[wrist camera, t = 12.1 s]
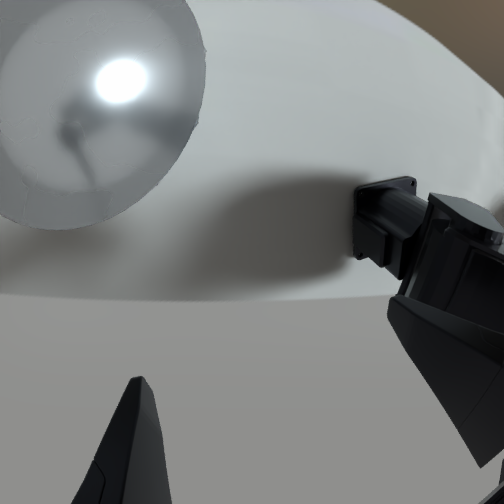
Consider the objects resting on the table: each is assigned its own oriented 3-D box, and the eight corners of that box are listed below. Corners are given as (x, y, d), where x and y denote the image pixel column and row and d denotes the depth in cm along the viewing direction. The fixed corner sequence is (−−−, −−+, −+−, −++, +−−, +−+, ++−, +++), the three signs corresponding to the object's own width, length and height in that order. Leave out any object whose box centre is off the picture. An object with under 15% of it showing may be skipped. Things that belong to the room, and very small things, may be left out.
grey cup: (186, 39, 15) (224, -43, 5) (175, 150, 18) (194, 228, 8) (72, 43, 13) (-33, -8, 3) (66, 153, 16) (-39, 235, 6)
